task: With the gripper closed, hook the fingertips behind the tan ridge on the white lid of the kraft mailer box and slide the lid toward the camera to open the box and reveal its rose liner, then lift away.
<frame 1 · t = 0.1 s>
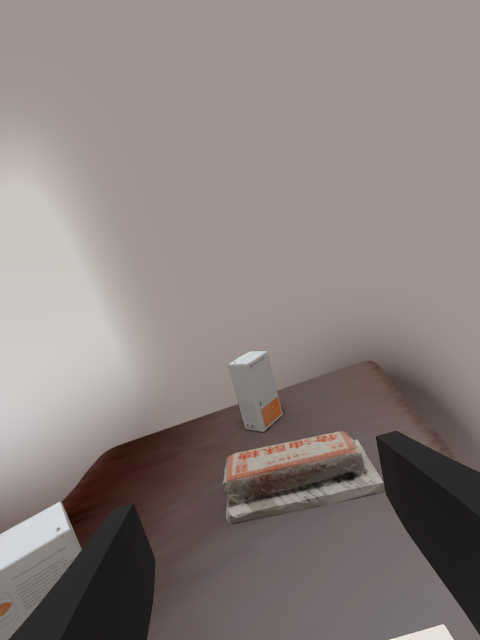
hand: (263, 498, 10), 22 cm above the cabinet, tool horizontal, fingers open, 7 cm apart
packaged product: (300, 486, 45), on the cabinet
skincare box: (265, 423, 62), on the cabinet
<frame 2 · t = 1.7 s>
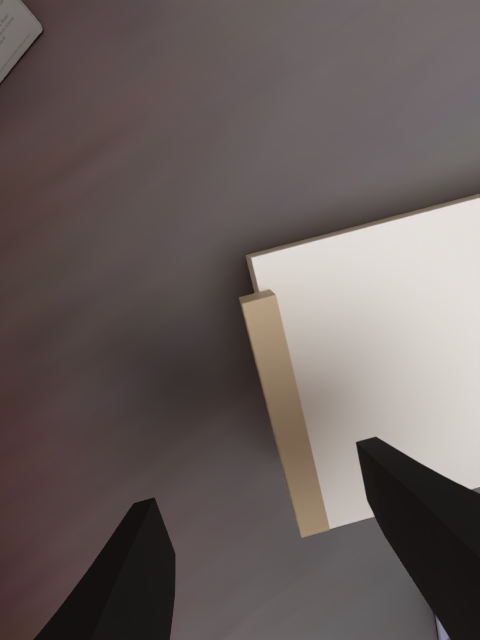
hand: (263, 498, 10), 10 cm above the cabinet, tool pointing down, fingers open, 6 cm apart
mailer box: (422, 318, 21), on the cabinet
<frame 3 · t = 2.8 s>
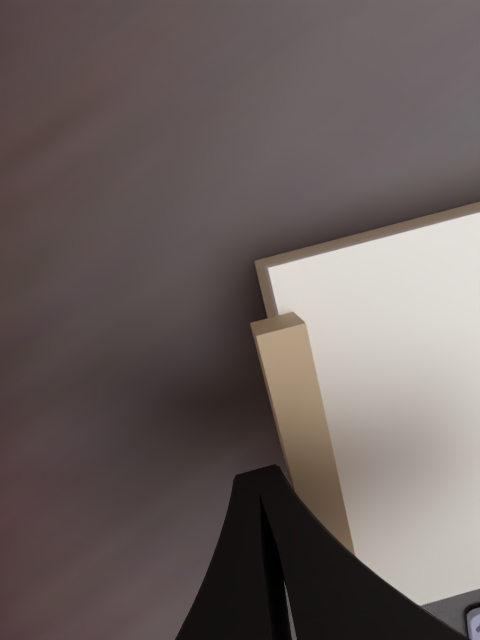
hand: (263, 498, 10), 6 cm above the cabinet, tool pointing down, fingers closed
mailer box: (471, 338, 17), on the cabinet
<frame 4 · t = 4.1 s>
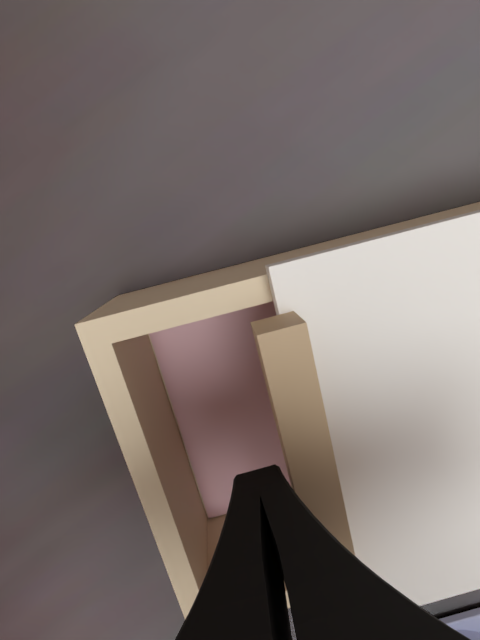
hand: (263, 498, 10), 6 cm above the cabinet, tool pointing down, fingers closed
mailer box: (350, 370, 17), on the cabinet
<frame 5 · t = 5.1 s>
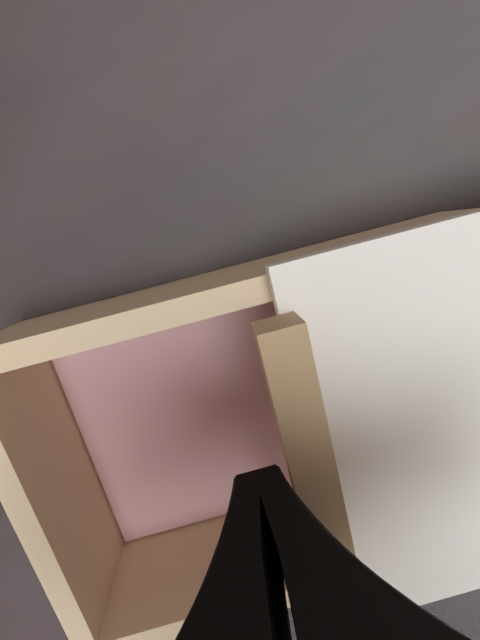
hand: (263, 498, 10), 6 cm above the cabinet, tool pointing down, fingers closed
mailer box: (265, 393, 17), on the cabinet
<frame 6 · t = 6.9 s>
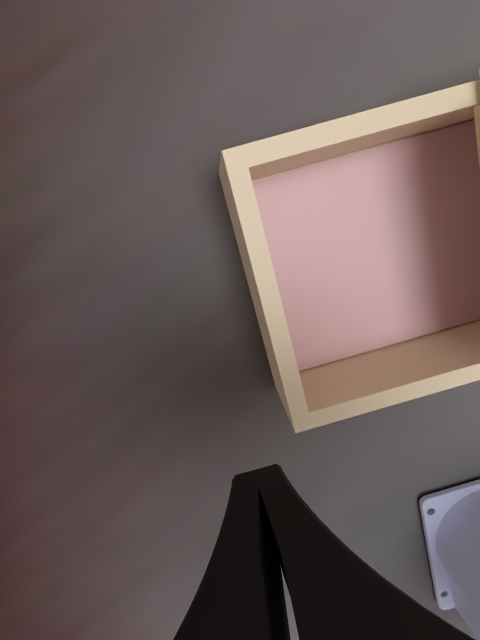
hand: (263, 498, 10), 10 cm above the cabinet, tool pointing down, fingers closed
mailer box: (408, 243, 20), on the cabinet
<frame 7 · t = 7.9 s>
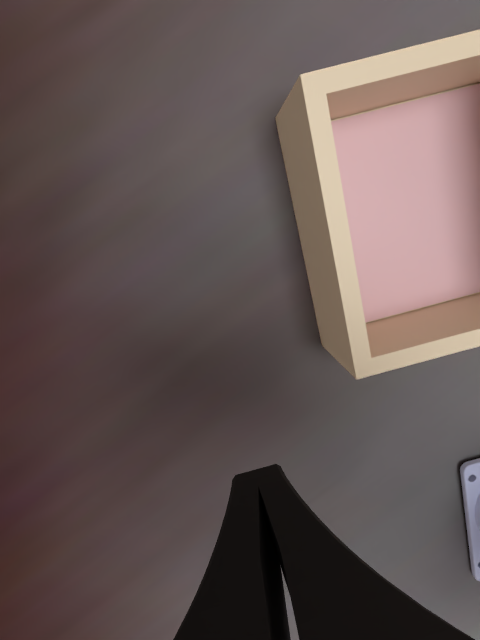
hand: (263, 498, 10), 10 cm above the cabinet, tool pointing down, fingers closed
mailer box: (462, 198, 19), on the cabinet
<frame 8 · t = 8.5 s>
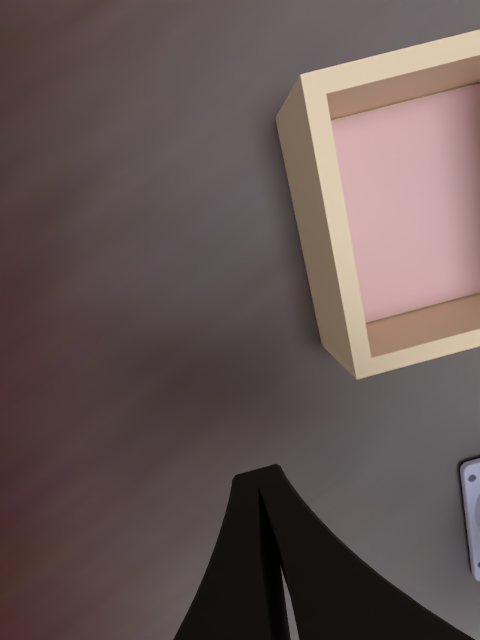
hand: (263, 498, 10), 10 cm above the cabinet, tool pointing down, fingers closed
mailer box: (462, 198, 19), on the cabinet
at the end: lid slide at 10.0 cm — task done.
